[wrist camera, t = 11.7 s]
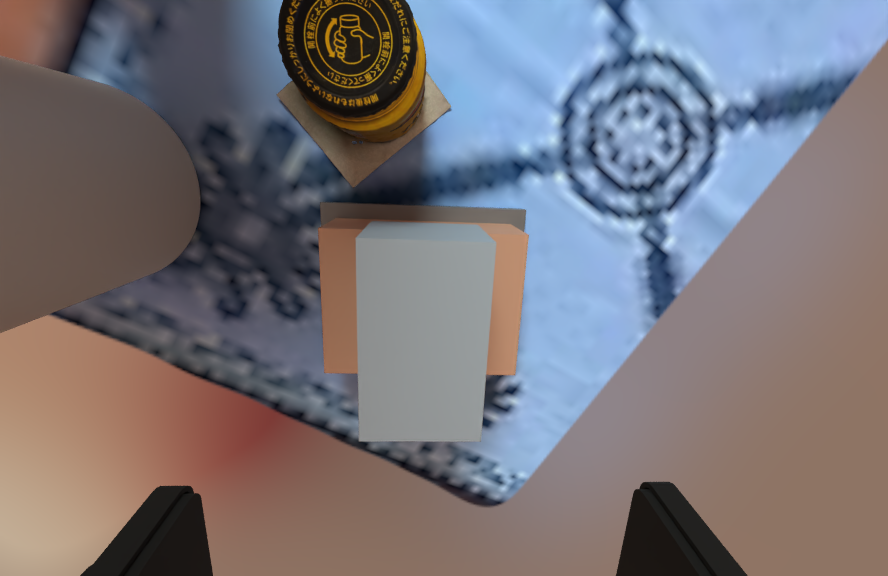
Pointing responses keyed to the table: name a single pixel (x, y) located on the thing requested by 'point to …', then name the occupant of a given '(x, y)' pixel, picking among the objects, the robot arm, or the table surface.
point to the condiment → (357, 79)
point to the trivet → (422, 213)
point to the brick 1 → (342, 293)
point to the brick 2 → (423, 330)
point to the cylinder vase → (84, 191)
